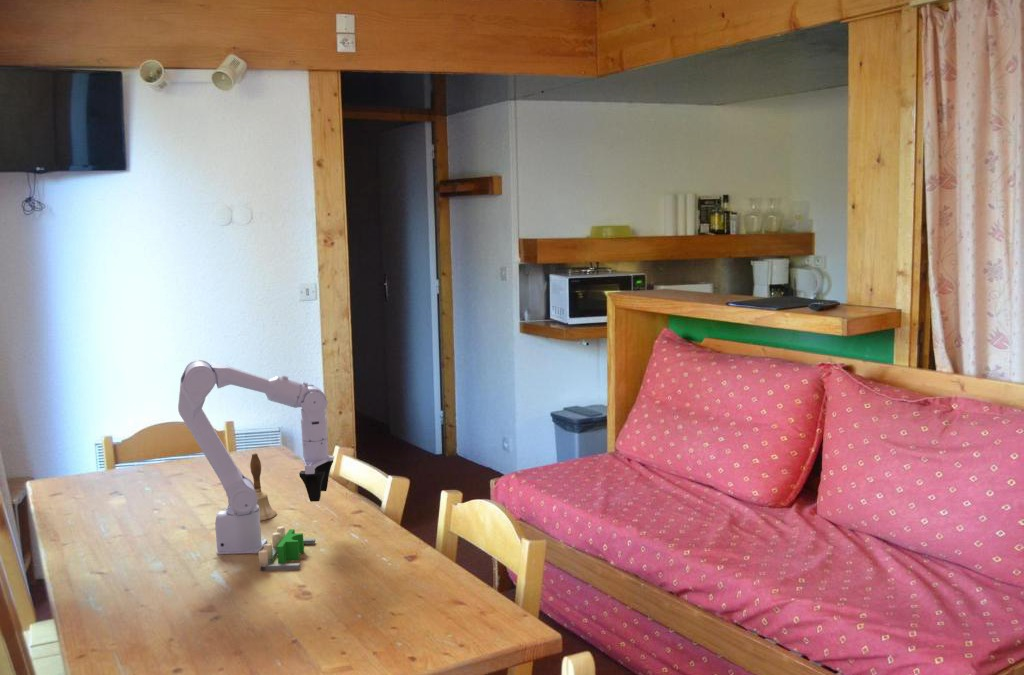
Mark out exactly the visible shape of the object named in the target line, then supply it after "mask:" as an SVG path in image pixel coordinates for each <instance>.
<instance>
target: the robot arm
mask: <svg viewBox="0 0 1024 675" xmlns="http://www.w3.org/2000/svg"><path fill="white" fill-rule="evenodd" d="M215 385H216V388H217V389H221V388H224V387H227V386H231V385H232V386H234V387H240V388H243V389H248V390H251V391H255V392H259V393H262V394H265V395H266V397H267V400H268V401H270V402H273V403H277V404H280V405H284V406H287V407H290V408H294V409H297V408H301V409H300V413H301V414H300V415H301V419H300V424H301V440H302V442H301V443H302V456H303V457H302V463H303V465H304V470H300V472H299V477H300V479H301V480H302V483H303V484H304V486H305V490H306V491H307V495H308V496H307V497H308V498H309V501H310V502H320V501H321V496H322V492H327V489H328V486H329V485H328V483H329V476H330V471H331V468H332V467H333V466H332V465H333V463H334V459H335V456H334V455H329V442H328V427H327V423H328V422H327V417H326V409H327V407H328V399H327V397H326V396H327V395H326V394H325V393H324V392H323V391H322V389H321V388H319V387H318V386H316V385H314V384H309V383H308V382H306V381H305V382H304V381H303V383H302V382H298V381H296V380H295V381H294V380H291V379H289V376H287V375H284V374H282V375H281V376H278V375H275V376H274V377H272V378H269V379H268V378H265V377H262V376H259V375H256V374H253V373H251V372H247V371H244V370H241V369H238V368H235V367H233V366H229V365H225V364H221V363H218V362H212V361H211V362H210V363H209V362H208V361H206V360H201V359H196V360H193V361H190V362H189V363H188V364H187V365H186V366H185V369H184V371H183V372H182V375H181V377H180V383H179V392H178V394H179V395H178V405H177V410H178V414H179V416H180V418H181V419H182V421H183V422H184V424H185V426H186V428H187V429H188V430H189V432H190V433H191V435H192V437H193V438H194V440H195V442H196V444H197V445H198V447H199V448H200V450H201V452H202V453H203V455H204V456H205V458H206V460H207V461H208V463H209V465H210V466H211V468H212V470H213V471H214V473H215V475H216V476H217V478H218V479H219V481H220V483H221V485H222V488H223V490H224V491H225V493H226V497H227V500H228V501H227V502H228V503H227V504H228V505H227V507H226V508H225V510H219V511H218V512H217V514H216V517H215V522H214V524H215V539H216V555H233V554H234V555H235V554H237V555H238V554H240V555H241V554H257V553H258V552H259V551H262V548H264V545H265V544H267V543H268V539H267V538H262V533H261V532H262V531H261V521H260V515H259V505H257V501H258V497H257V494H256V492H255V490H254V482H253V481H252V480H251V479H249V478H248V477H247V476H245V475H244V474H243V473H242V472H241V470H240V469H239V467H238V465H237V464H236V463H235V461H234V460H233V458H232V456H231V455H230V453H229V451H228V449H227V448H226V446H225V445H224V443H223V441H222V440H221V438H220V436H219V434H218V433H217V431H216V429H215V428H214V427H213V425H212V423H211V421H210V420H209V418H208V416H207V415H206V413H205V411H204V409H203V407H204V404H205V401H206V398H207V397H208V395H209V394H210V393H211V392H212V390H213V389H214V388H215ZM258 554H259V553H258Z"/></svg>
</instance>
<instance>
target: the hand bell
mask: <svg viewBox="0 0 1024 675" xmlns="http://www.w3.org/2000/svg"><path fill="white" fill-rule="evenodd" d="M249 466H250V468H249V469H250V472H251V475H252V477H253V478H252V479H253V485H254V490H255V492H256V494H257V497H258V501H257V505H259V515H260V522H261V521H266V520H269V519H272V518H274V517H276V516H277V515H278V514H277V511H276V509H274V508H273V507H272V506H271V504H270V500H269V497H268V494H267V493H265V492H263V491H262V487H261V474H262V462H261V460H260V457H259V455H258V453H256V452H255V453H251V459H250V465H249Z"/></svg>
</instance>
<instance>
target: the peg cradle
mask: <svg viewBox="0 0 1024 675" xmlns="http://www.w3.org/2000/svg"><path fill="white" fill-rule="evenodd" d="M285 535H286V527H285V526H282V525H281V526H277V527H276V532H273V533H271V537H272V538H271V539H272V543H269V542H268V543H265V544H264V546H263V550H262V549H261V550H260V551H259V552H258V564H259V567H260V568H259V569H260V572H266V571H267V572H268V571H269V572H270V571H271V572H273V570H275V571H298V570H297V569H299V570H301V563H300V562H297V563H296V562H295V563H291V562H290V563H285V564H278V563H273V562H274V560H275V559H276V558H277V557H278V555H277V546H278V545H279V543H280V542H281V541H282V539H283V538H284V536H285ZM303 542H304V544H314V545H315V544H316V543H315V542H316V538H303Z"/></svg>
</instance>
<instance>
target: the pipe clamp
mask: <svg viewBox="0 0 1024 675" xmlns="http://www.w3.org/2000/svg"><path fill="white" fill-rule="evenodd" d="M295 532H296V531H295V528H291V529H288V530H287V532H286V533H285V536H284V538H283V539H282V541H281V542H280V543H279V545H278V546H277V554H278V555H277V564H287V562H292V560H299V561H300V554H304V553H305V545H304V542H303V539H304V533H303V532H300V533H295ZM303 552H304V553H303ZM299 553H300V554H299ZM286 561H287V562H286Z"/></svg>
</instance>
